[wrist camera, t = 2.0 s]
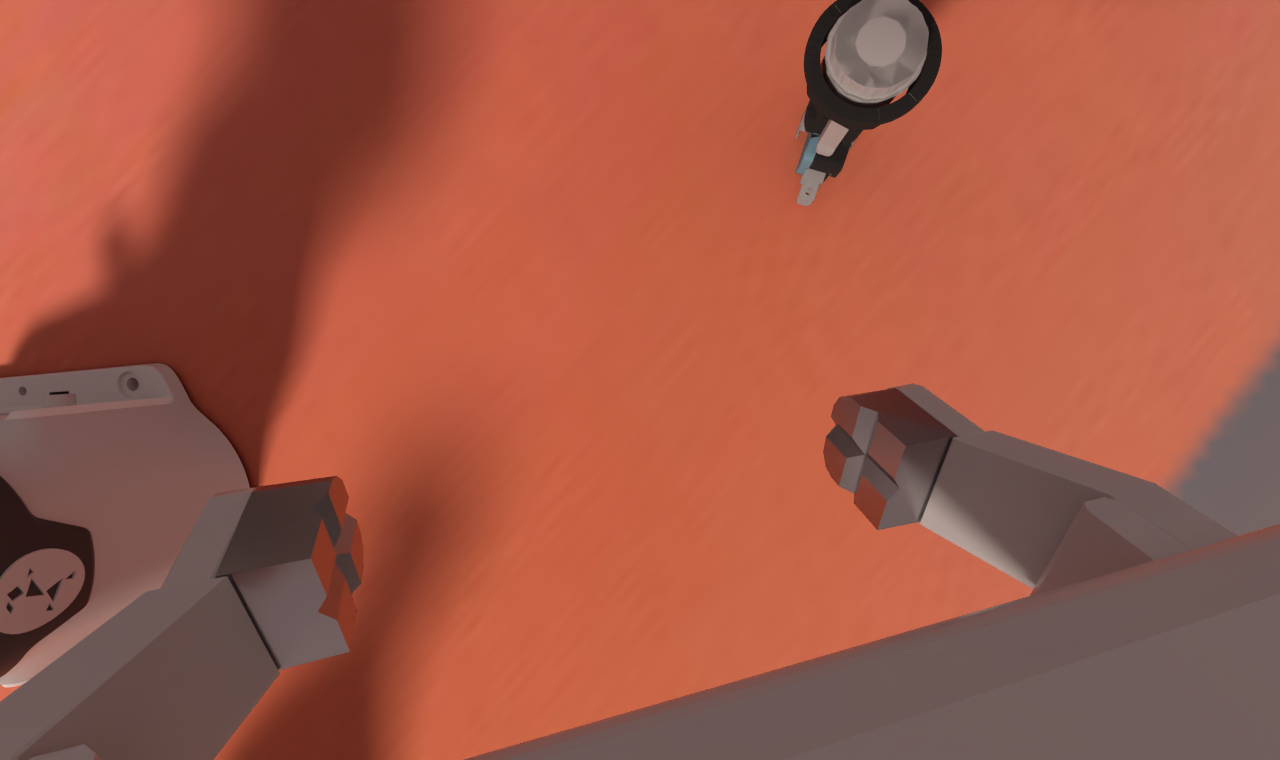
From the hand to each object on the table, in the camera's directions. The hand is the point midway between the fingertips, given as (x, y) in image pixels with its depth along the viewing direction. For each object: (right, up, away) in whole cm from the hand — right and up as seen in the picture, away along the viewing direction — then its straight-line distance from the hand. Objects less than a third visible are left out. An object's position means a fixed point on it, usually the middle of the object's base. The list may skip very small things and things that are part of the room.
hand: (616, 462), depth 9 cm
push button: (+11, +14, +23) cm, 29 cm away
